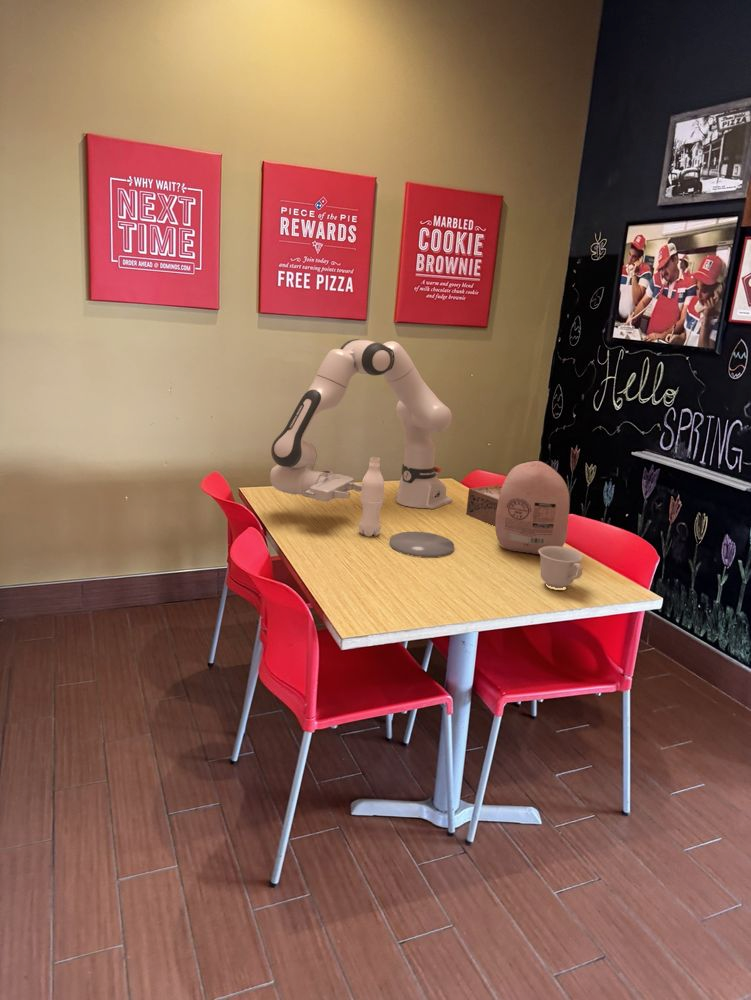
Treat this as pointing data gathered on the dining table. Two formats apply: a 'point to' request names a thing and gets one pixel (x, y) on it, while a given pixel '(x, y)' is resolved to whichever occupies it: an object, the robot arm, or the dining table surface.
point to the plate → (421, 544)
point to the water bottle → (371, 499)
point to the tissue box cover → (483, 503)
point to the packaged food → (532, 508)
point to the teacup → (560, 565)
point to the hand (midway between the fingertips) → (355, 492)
